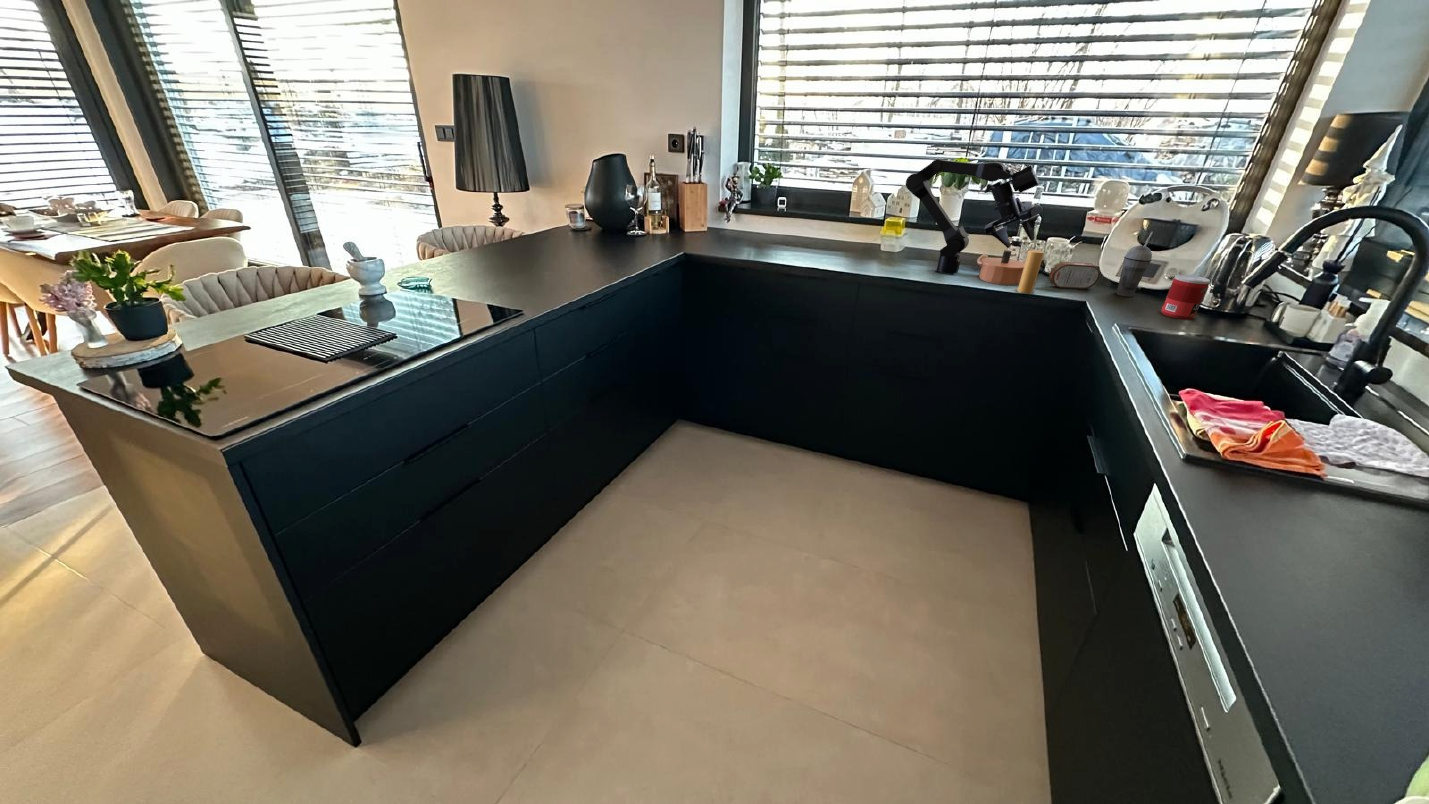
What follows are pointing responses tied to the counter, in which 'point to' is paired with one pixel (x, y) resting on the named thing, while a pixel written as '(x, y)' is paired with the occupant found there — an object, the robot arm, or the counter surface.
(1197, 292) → the canned food
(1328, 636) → the counter surface
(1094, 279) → the tin
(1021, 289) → the eggroll
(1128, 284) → the beverage cup
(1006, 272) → the pot
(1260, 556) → the counter surface
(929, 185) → the robot arm
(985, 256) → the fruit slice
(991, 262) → the lid
